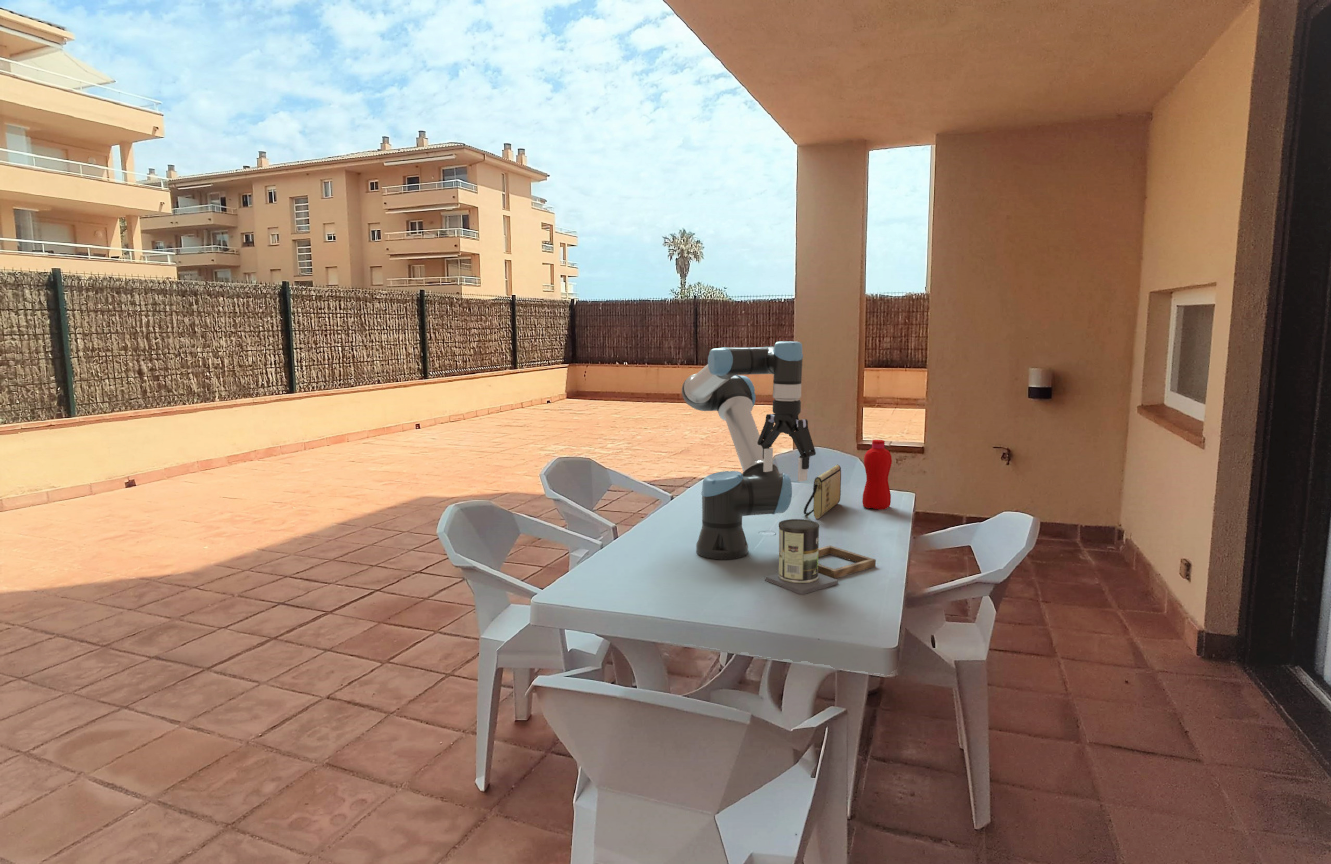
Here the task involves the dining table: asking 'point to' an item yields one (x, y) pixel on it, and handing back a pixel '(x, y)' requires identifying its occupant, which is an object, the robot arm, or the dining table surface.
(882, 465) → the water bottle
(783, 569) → the coffee can
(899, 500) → the dining table surface
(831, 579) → the mat
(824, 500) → the clutch purse
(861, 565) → the frame
